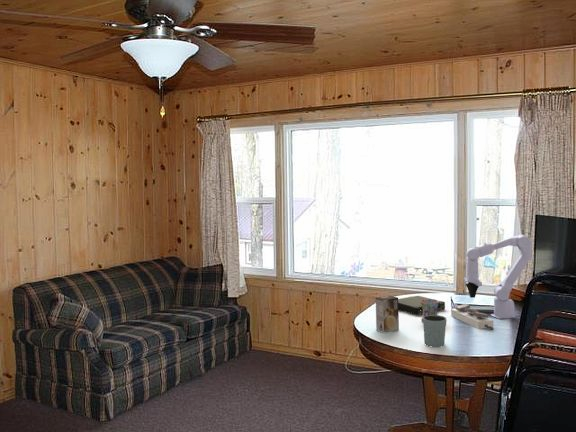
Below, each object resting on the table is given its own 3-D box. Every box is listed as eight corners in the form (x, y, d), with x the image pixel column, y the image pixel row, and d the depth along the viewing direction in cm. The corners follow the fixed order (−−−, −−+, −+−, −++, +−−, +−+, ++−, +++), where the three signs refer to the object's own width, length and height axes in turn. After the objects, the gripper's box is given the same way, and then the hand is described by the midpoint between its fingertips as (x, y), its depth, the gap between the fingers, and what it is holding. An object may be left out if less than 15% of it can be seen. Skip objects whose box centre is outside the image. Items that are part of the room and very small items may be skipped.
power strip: (465, 314, 301) (465, 307, 301) (499, 330, 271) (499, 322, 270) (451, 315, 300) (451, 308, 299) (484, 331, 269) (484, 323, 269)
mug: (438, 324, 283) (437, 303, 282) (419, 323, 287) (418, 302, 286) (441, 318, 294) (441, 298, 293) (422, 317, 298) (422, 297, 297)
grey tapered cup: (431, 339, 259) (431, 313, 258) (451, 344, 251) (451, 317, 250) (418, 344, 252) (418, 317, 251) (437, 349, 245) (437, 322, 244)
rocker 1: (466, 306, 298) (465, 303, 298) (470, 307, 294) (469, 305, 294) (455, 309, 297) (455, 306, 296) (459, 311, 293) (459, 308, 292)
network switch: (421, 317, 299) (421, 307, 299) (387, 309, 318) (387, 300, 317) (448, 309, 314) (448, 300, 314) (414, 302, 332) (414, 294, 332)
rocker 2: (474, 312, 290) (475, 309, 290) (478, 314, 286) (479, 311, 286) (464, 310, 289) (465, 307, 289) (468, 311, 285) (469, 309, 285)
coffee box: (391, 327, 281) (390, 295, 279) (399, 330, 275) (398, 297, 274) (375, 330, 276) (375, 297, 275) (383, 333, 271) (383, 299, 269)
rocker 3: (483, 315, 282) (483, 313, 282) (487, 317, 278) (488, 314, 278) (472, 314, 281) (473, 311, 281) (476, 316, 277) (477, 313, 277)
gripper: (458, 269, 302) (458, 294, 303) (473, 274, 288) (473, 300, 289) (470, 268, 304) (470, 294, 305) (485, 273, 290) (485, 299, 291)
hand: (472, 297), depth 297 cm, fingers closed
